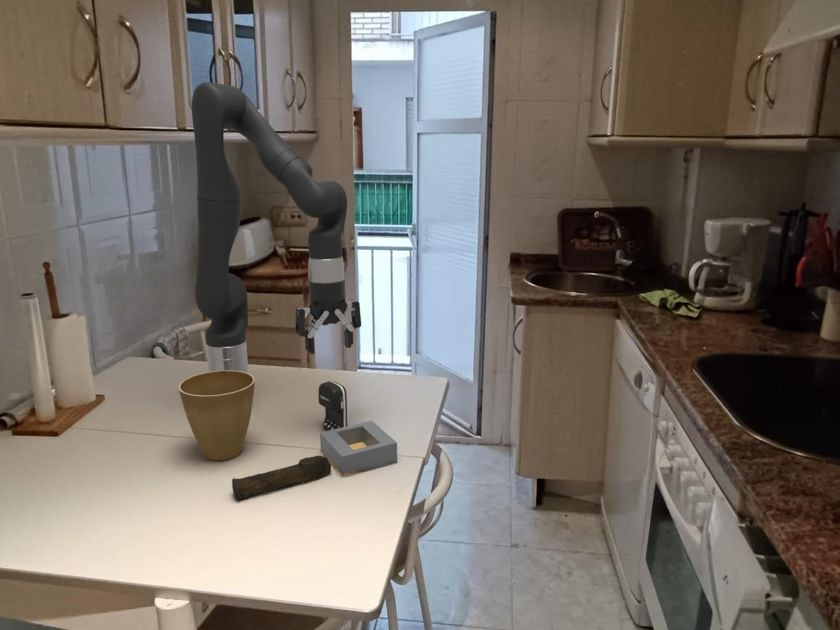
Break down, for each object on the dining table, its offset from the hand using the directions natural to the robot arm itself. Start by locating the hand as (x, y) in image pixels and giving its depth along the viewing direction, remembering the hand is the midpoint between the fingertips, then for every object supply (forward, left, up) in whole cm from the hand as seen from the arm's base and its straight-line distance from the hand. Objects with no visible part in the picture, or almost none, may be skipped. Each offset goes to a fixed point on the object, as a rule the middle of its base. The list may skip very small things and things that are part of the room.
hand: (330, 350), depth 138 cm
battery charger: (0, 0, -20) cm, 20 cm away
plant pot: (-24, +2, -20) cm, 31 cm away
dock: (0, -14, -19) cm, 24 cm away
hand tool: (-17, -17, -20) cm, 31 cm away
